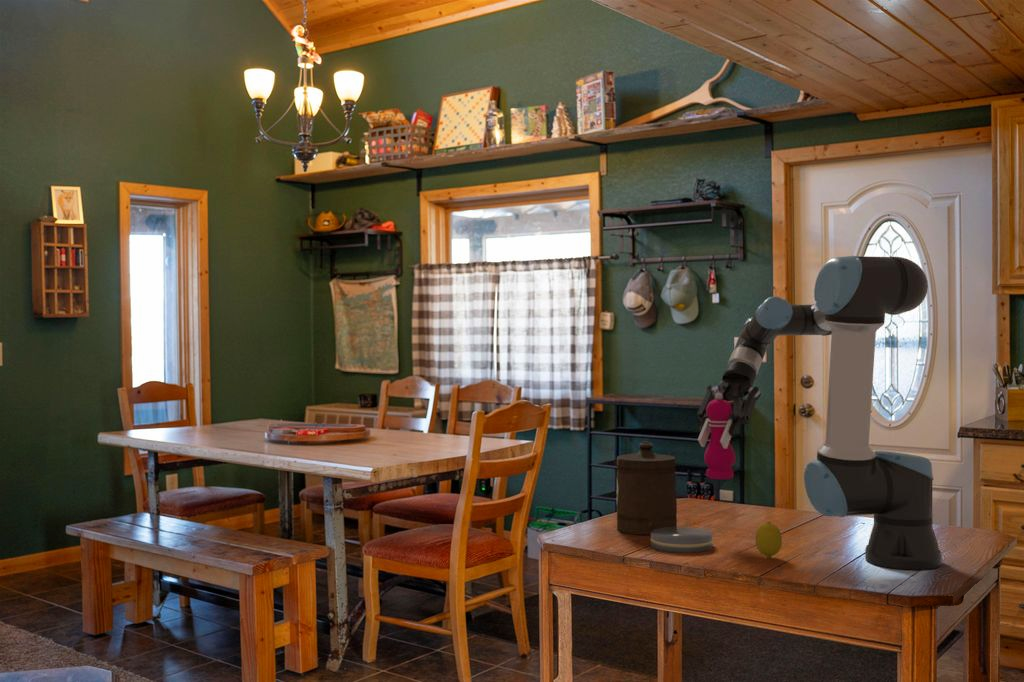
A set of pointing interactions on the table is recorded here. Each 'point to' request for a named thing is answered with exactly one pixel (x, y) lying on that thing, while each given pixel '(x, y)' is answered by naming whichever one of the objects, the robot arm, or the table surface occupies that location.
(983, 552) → the table surface
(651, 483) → the wooden container
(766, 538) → the lemon
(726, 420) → the pepper mill
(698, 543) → the grey flat disc
